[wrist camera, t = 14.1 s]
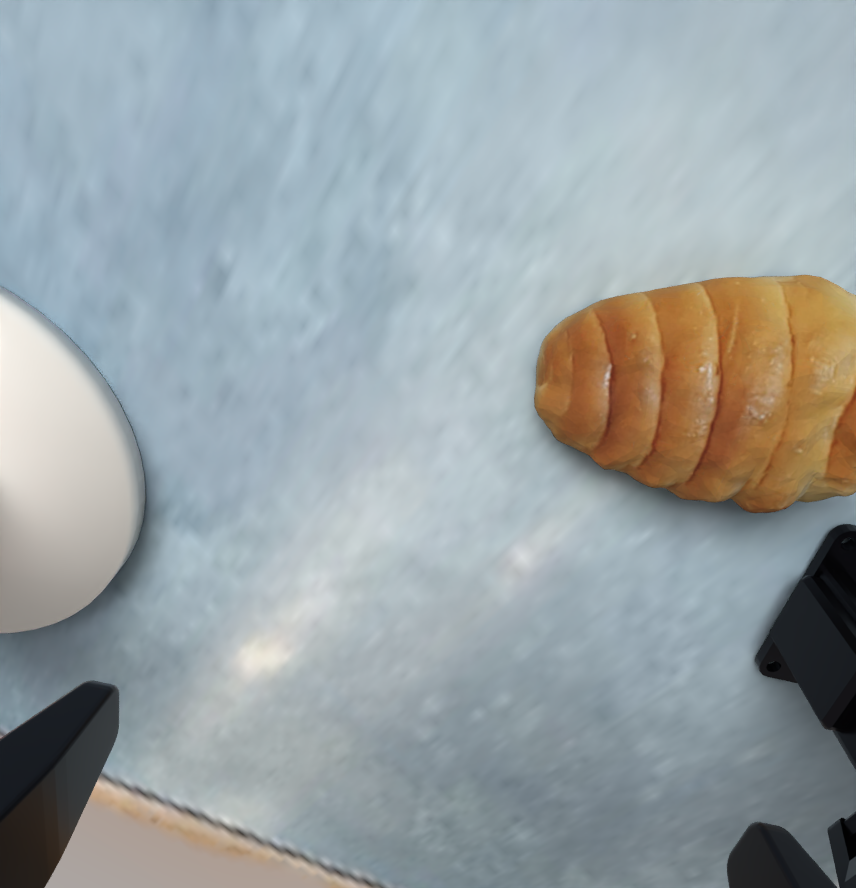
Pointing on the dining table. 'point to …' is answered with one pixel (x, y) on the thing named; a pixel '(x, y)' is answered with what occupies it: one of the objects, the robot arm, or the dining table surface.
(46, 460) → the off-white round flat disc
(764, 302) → the pastry
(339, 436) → the dining table surface
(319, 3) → the dining table surface
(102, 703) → the robot arm
